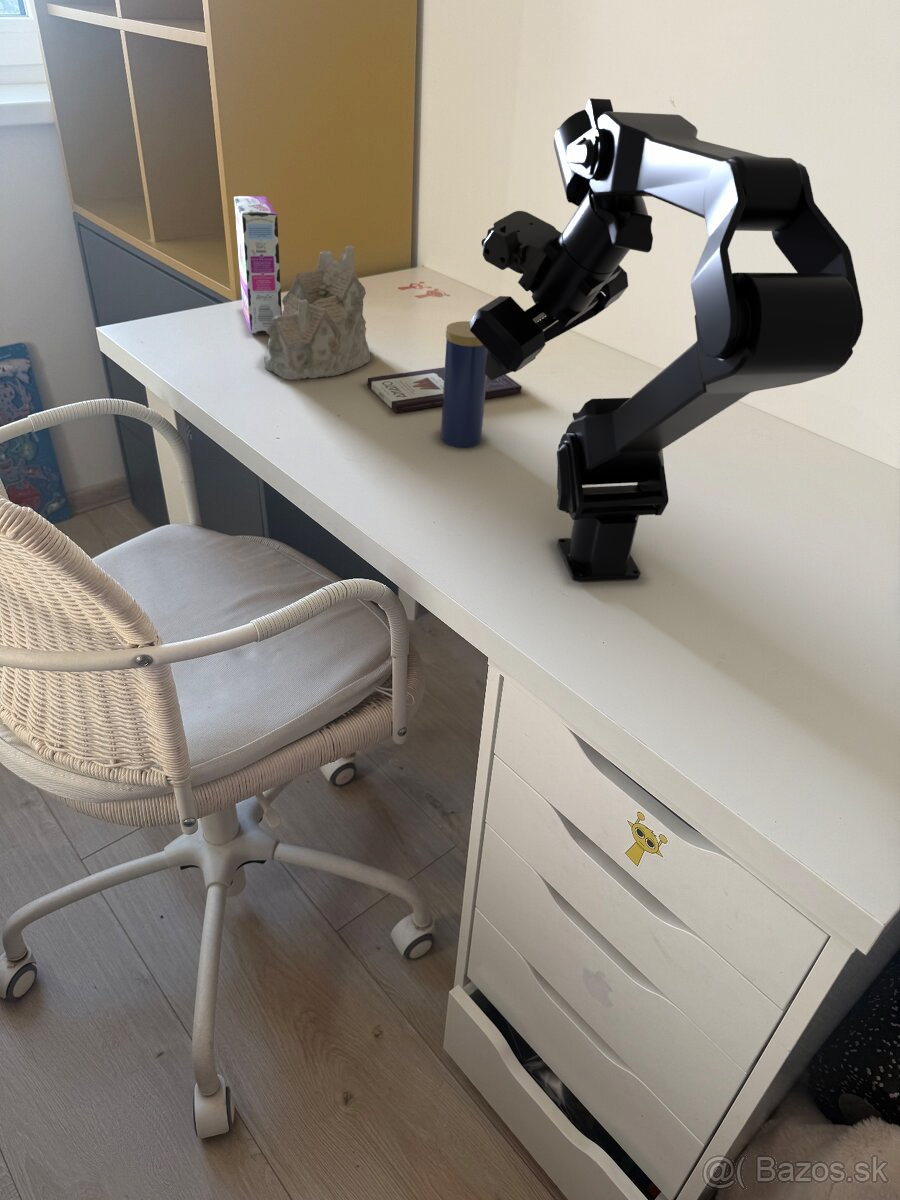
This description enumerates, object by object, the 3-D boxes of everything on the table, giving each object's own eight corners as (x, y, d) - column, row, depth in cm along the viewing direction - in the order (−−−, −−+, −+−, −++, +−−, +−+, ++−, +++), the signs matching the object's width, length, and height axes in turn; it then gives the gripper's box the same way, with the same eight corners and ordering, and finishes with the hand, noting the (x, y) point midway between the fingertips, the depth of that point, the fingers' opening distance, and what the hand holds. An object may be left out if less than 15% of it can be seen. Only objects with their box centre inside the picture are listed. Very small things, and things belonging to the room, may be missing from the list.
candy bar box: (285, 334, 121) (278, 213, 111) (250, 335, 120) (240, 213, 110) (274, 309, 129) (267, 194, 119) (242, 310, 128) (231, 194, 118)
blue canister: (485, 447, 96) (496, 337, 88) (442, 448, 95) (449, 337, 87) (477, 428, 100) (487, 321, 92) (437, 429, 99) (443, 320, 91)
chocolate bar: (521, 386, 108) (396, 405, 101) (520, 393, 109) (395, 412, 102) (488, 361, 114) (367, 377, 107) (487, 367, 115) (367, 384, 108)
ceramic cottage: (333, 325, 124) (326, 220, 114) (390, 368, 114) (388, 257, 104) (235, 348, 117) (219, 238, 107) (286, 396, 107) (274, 279, 97)
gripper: (587, 151, 78) (517, 269, 92) (462, 217, 69) (403, 337, 82) (668, 236, 78) (585, 342, 91) (553, 314, 68) (480, 419, 82)
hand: (515, 357), depth 87 cm, fingers open, 9 cm apart
